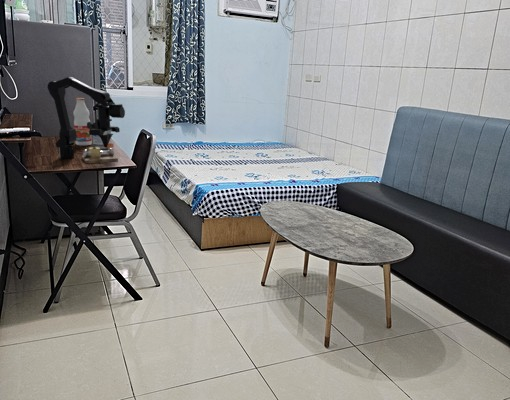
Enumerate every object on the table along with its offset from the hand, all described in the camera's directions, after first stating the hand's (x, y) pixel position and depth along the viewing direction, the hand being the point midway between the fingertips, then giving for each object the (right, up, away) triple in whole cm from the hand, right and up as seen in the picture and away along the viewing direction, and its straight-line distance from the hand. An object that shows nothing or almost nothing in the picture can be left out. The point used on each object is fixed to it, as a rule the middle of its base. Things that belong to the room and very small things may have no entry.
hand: (105, 147), depth 228 cm
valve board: (-4, -6, +4) cm, 9 cm away
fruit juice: (-28, +7, +44) cm, 53 cm away
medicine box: (-14, +3, +33) cm, 36 cm away
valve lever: (-3, +1, +2) cm, 4 cm away
